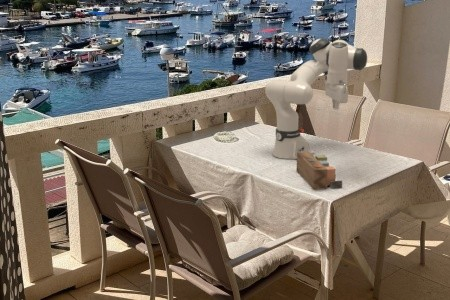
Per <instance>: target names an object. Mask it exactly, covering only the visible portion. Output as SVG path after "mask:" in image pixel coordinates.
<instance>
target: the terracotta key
mask: <svg viewBox="0 0 450 300" xmlns="http://www.w3.org/2000/svg"><path fill="white" fill-rule="evenodd" d="M326 168H327V169H328V170H327V187H328V186H329V187H330V181H336V176H335V175H336V168H335V167H334V166H330V165H329V166H328V167H326Z"/></svg>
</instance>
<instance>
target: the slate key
mask: <svg viewBox="0 0 450 300" xmlns="http://www.w3.org/2000/svg"><path fill="white" fill-rule="evenodd" d="M319 162H320V163H321V164H322V165H323V166H325V167H328V166H330V163H329V162H328V160H327V161H319Z"/></svg>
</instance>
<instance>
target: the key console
mask: <svg viewBox="0 0 450 300" xmlns="http://www.w3.org/2000/svg"><path fill="white" fill-rule="evenodd" d="M327 170H328V169H327V168H326V167H325V166H323V165H322V164H321V163H320V162H319V161H318V160H317V159H316V158H315V156H314V155H313V154H311V153H310V152H300V153H297V159H296V170H295V171H296V172H297V173H298V174H299V175H300V176H301V177H302V178H303V179H304V181H306V183H307V185H309V186H310V188H312V189H313V190H326V189H327V187H328V186H327ZM336 175H337V174H335V177H336ZM342 187H343V180H335V181H330V186H329V189H342Z"/></svg>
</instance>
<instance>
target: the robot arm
mask: <svg viewBox="0 0 450 300" xmlns="http://www.w3.org/2000/svg"><path fill="white" fill-rule="evenodd" d="M330 41H331V39H326V38H323V37H320V38H318V39H315V40H314V41H313V42H312V43H311V45H310V46H309V53H310V54H311V55H312V57H313V58H314V59H315V60H314V59H311V60H307V61H306V62H304V63H302V64H301V65H300V66H299V67H298V68H297V69H296V70H295V71H293V72H292V74H291V76H290V80H282V79H274V80H270V81H268V82H267V84H266V86H265V87H264V93H265V95H266V97H267V99H268V100H269V101H270V102H271V103H272V105H273V108H274V109H275V113H276V114H275V115H276V129H275V140H274V141H275V142H274V148H273V152H272V155H273V156H274V157H276V158H279V159H286V160H289V159H290V160H297V153H300V152H310V153H311V154H312V155H313V154H315V151H314V150H313V149H311V148H310V142H309V141H308V140H307V139H306V138H305V137H303V136H302V135H301V134H305V129H304V128H303V129H302V128H299V117H300V116H299V113H298V112H297V111H296V110H295V109H294V108H293V107H292V105H291V104H294V105H307V104H309V103H310V102H311V101H312V99H313V96H314V91H313V88H312V85H313V84H314V82H316V80H317V79H318V78H319V76H321V75H322V74H323V77H324V81H325V83H324V84H325V85H324V89H325V90H324V92H325V95H326V96H327V97H329V98H331V103H332V109H334V110H339V106H340V104H347V103H348V100H349V88H348V85H347V83H348V70H352V71H354V70H355V71H362V70H363V69H365V68H366V66H367V64H368V54H367V52H366V49H364V48H363V47H361V48H358V47H355V46H354V45H351V44H350V43H348V42H347V41H346V40H343V39H337V40H334V41H333V42H330Z"/></svg>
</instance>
